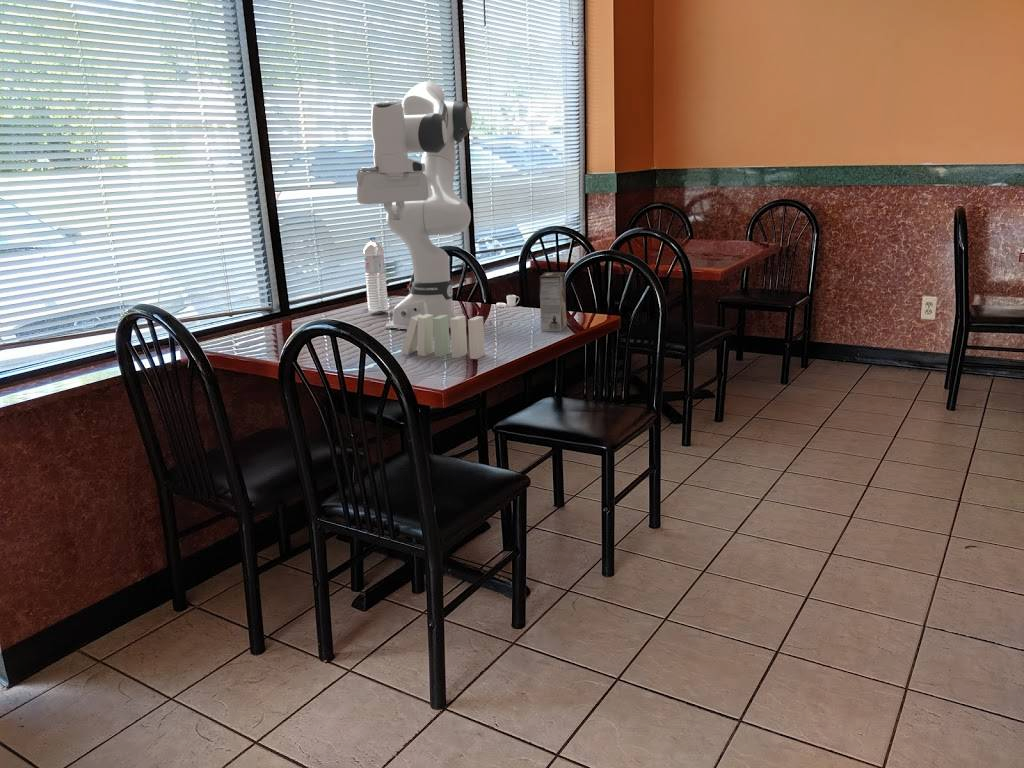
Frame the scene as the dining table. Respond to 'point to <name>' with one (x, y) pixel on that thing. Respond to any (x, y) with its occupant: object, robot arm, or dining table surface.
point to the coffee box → (553, 301)
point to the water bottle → (375, 276)
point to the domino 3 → (441, 335)
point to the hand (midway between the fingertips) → (395, 220)
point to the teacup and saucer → (509, 301)
